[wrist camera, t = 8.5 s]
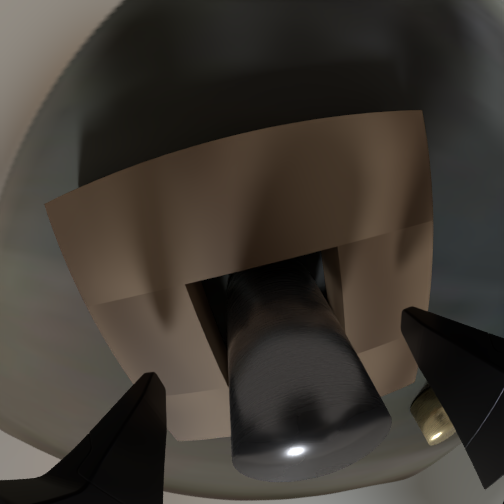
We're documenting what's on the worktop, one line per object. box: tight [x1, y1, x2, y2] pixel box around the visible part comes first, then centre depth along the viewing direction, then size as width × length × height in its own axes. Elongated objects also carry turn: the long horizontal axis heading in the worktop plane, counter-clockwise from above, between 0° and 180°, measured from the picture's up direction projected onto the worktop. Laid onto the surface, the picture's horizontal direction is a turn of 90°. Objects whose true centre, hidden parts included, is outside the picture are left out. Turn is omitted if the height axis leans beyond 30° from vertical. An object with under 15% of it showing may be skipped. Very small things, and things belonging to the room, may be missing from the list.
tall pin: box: [227, 258, 392, 482], centre depth 9 cm, size 4×4×8 cm
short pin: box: [410, 387, 456, 445], centre depth 16 cm, size 4×4×4 cm
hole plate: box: [44, 110, 433, 441], centre depth 12 cm, size 14×14×2 cm
